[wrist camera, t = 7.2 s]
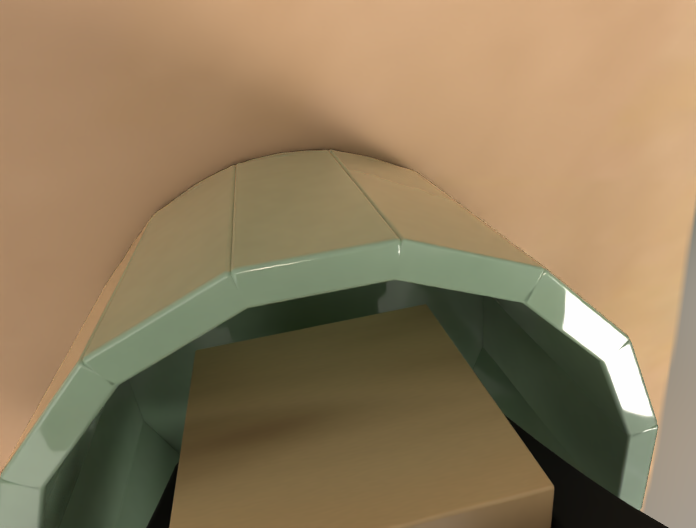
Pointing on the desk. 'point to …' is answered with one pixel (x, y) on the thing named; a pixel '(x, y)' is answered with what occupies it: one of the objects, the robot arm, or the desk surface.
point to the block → (352, 434)
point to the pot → (308, 311)
